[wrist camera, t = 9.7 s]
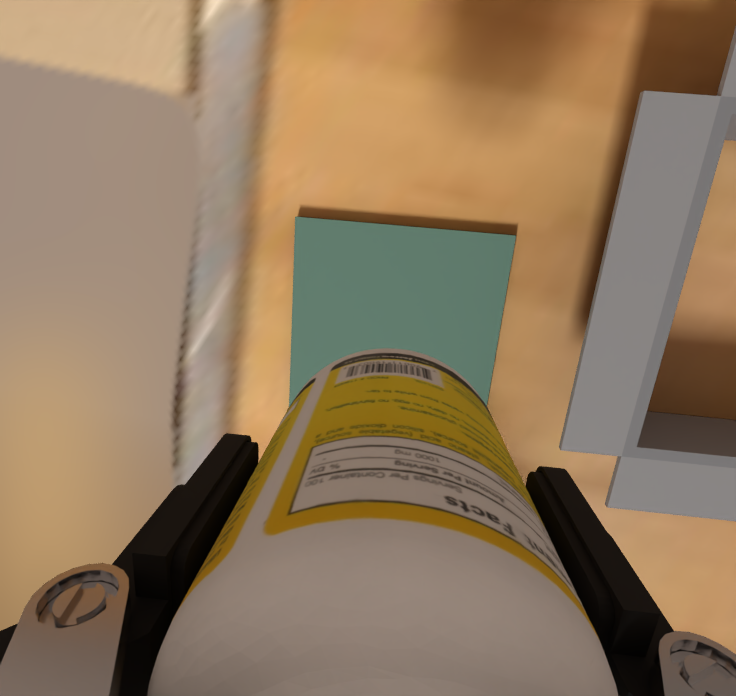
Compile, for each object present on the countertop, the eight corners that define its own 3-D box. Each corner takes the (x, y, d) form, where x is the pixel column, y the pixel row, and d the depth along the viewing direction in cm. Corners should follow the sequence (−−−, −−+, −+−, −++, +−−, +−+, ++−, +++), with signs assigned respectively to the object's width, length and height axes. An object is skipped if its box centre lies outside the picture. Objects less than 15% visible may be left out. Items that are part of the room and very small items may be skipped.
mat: (513, 235, 25) (516, 235, 24) (480, 432, 28) (481, 435, 28) (297, 216, 25) (295, 216, 25) (290, 412, 29) (288, 415, 28)
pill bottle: (361, 557, 15) (268, 1427, 4) (246, 411, 14) (-301, 1121, 3) (532, 471, 13) (1022, 1413, 3) (423, 300, 12) (585, 860, 2)
